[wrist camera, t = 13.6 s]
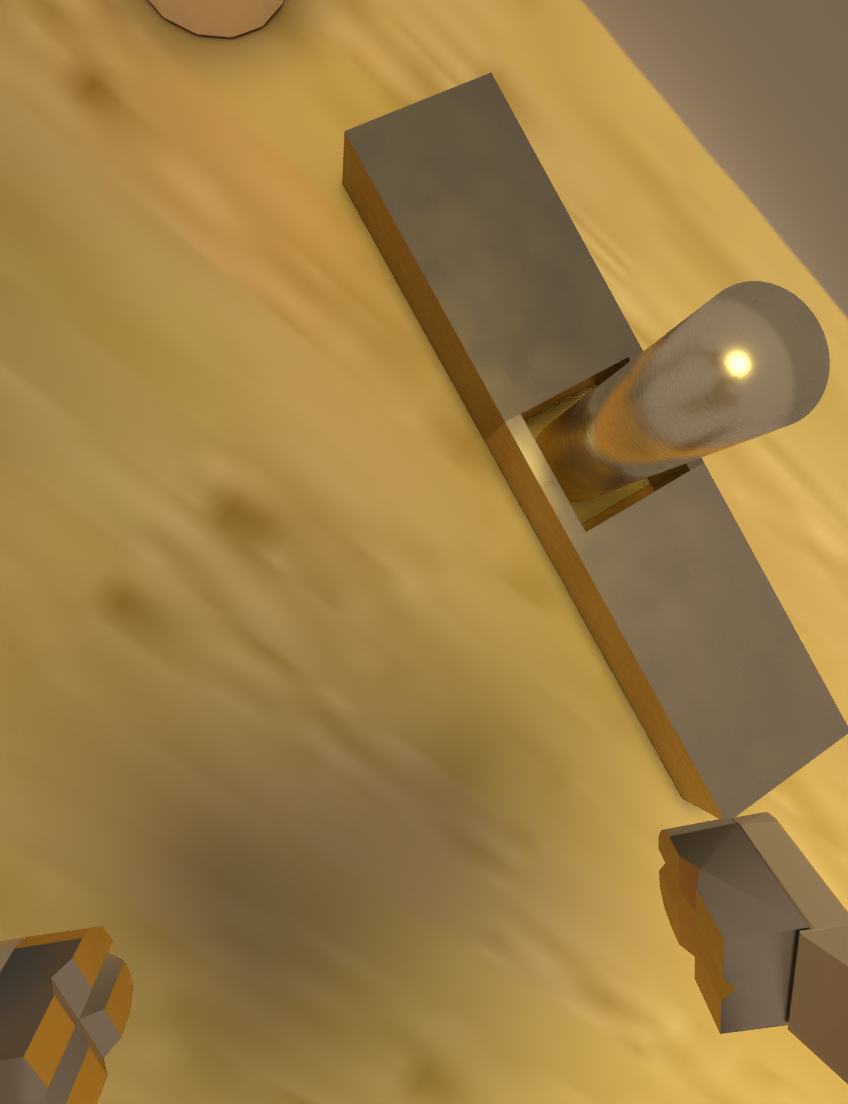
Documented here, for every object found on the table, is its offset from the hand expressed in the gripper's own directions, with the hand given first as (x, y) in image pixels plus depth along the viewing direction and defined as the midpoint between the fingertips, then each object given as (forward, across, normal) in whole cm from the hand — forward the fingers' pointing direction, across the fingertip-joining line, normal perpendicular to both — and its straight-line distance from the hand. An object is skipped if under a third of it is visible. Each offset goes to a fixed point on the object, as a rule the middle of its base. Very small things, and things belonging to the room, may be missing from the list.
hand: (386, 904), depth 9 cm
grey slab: (+21, -9, 0) cm, 22 cm away
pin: (+21, -9, 0) cm, 22 cm away
